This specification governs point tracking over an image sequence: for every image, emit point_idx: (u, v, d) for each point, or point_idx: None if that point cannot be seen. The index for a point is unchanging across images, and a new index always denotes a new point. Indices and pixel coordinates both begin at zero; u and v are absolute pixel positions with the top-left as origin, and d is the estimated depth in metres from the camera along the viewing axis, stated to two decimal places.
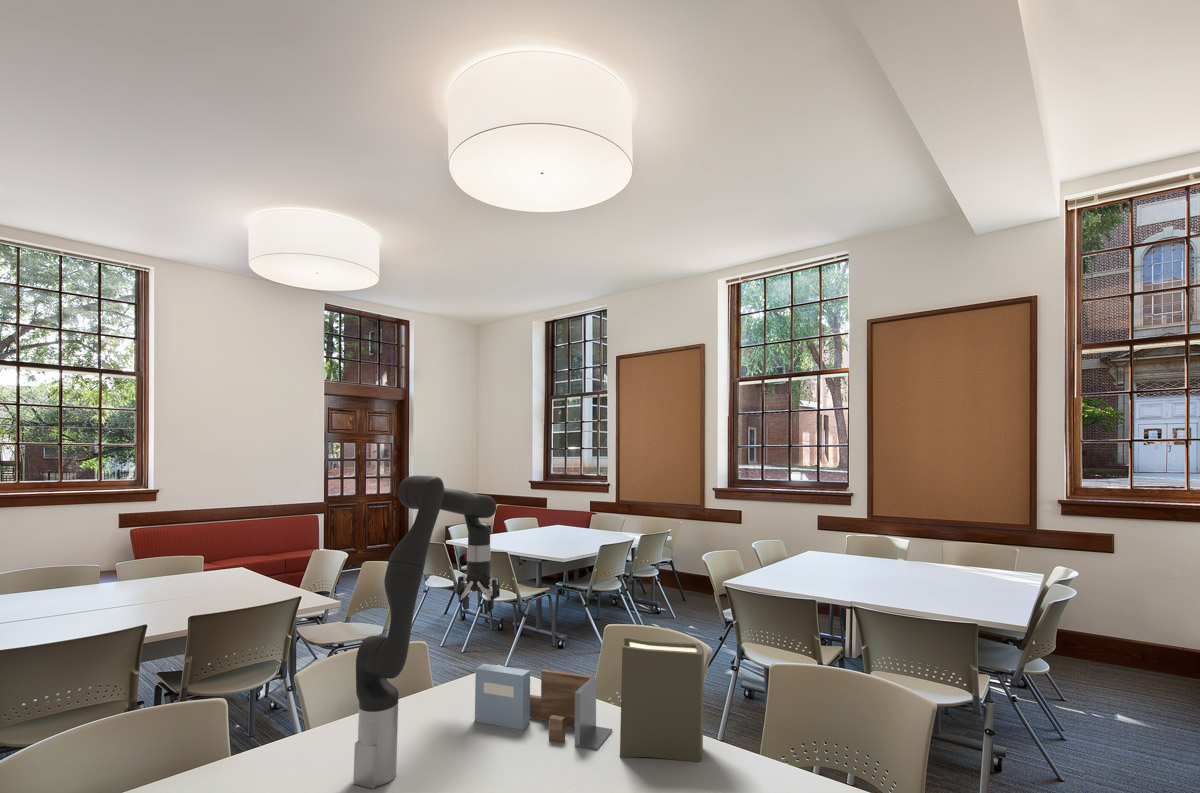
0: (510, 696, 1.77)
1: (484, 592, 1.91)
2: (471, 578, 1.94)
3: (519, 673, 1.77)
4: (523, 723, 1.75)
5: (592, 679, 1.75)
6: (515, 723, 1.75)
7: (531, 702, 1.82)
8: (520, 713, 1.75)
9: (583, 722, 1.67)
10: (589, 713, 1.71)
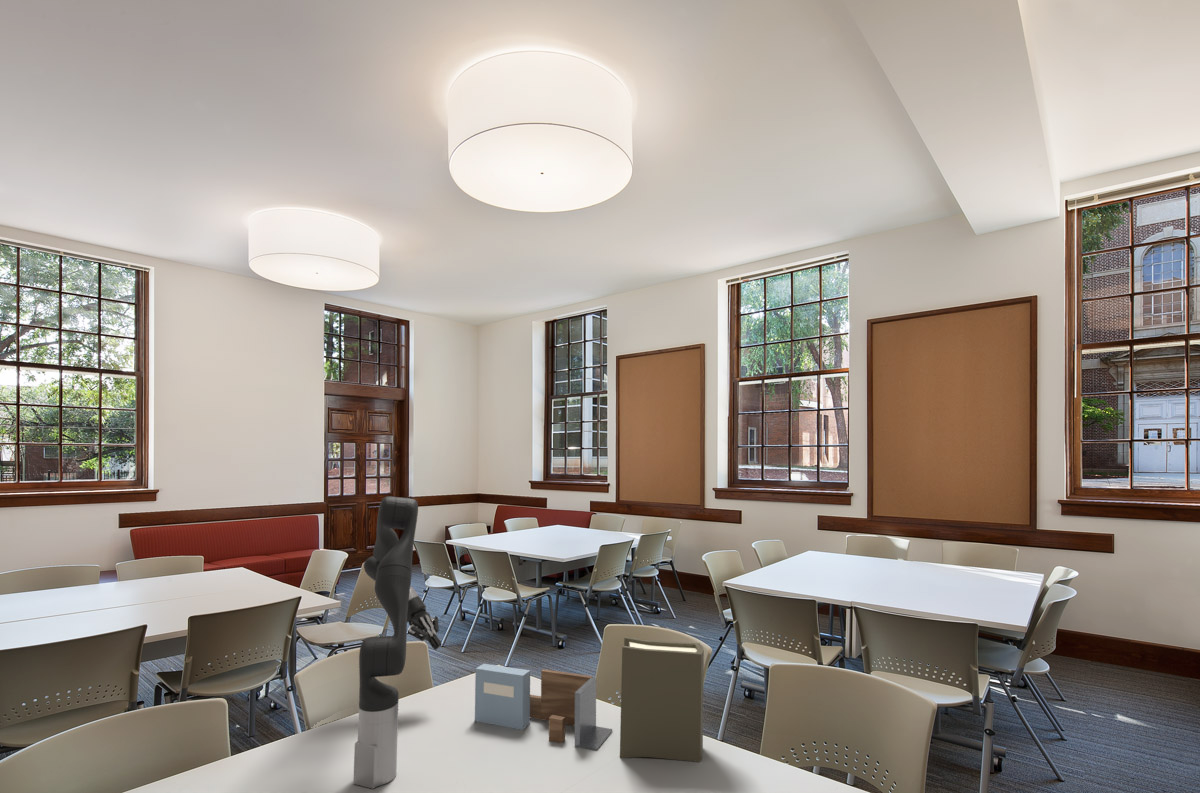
0: (510, 696, 1.77)
1: (431, 625, 1.92)
2: (417, 617, 1.91)
3: (519, 673, 1.77)
4: (523, 724, 1.75)
5: (592, 679, 1.75)
6: (515, 724, 1.75)
7: (531, 702, 1.82)
8: (520, 713, 1.75)
9: (583, 722, 1.67)
10: (589, 713, 1.71)
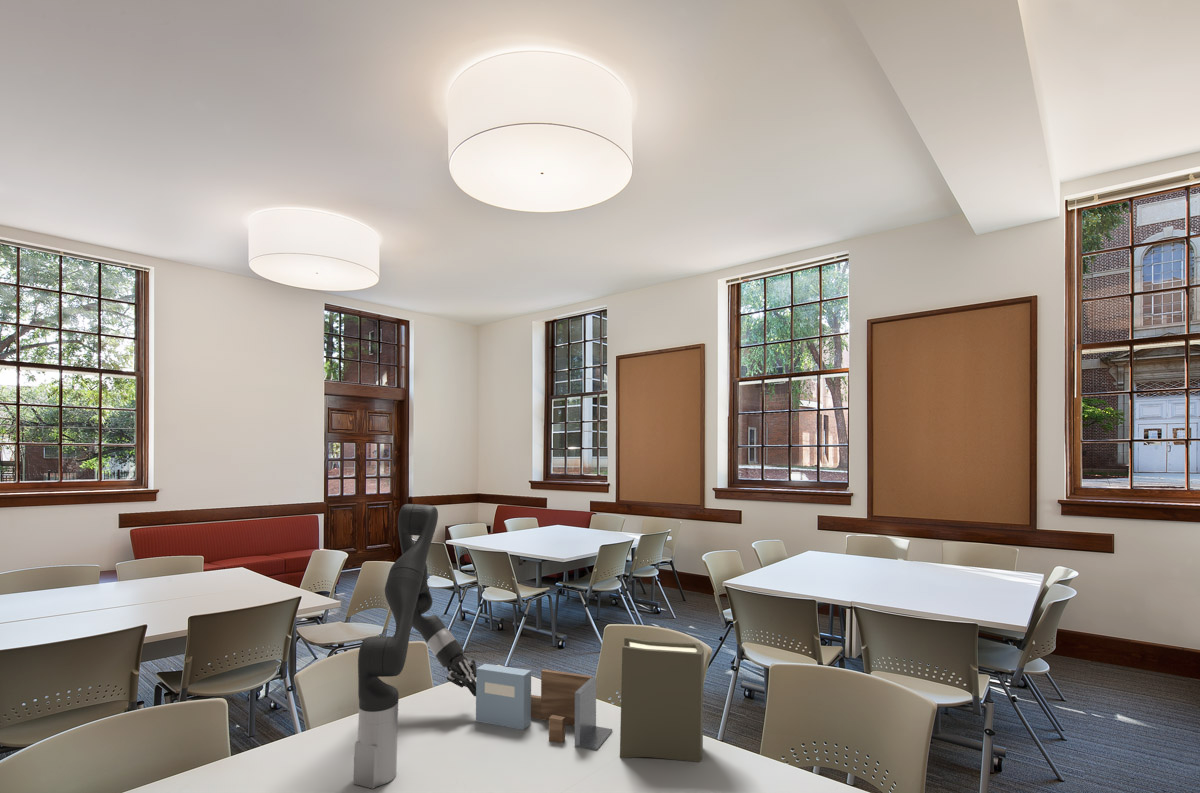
0: (511, 696, 1.76)
1: (470, 670, 1.86)
2: (455, 663, 1.85)
3: (520, 673, 1.77)
4: (524, 723, 1.75)
5: (592, 679, 1.75)
6: (516, 723, 1.75)
7: (531, 702, 1.82)
8: (521, 713, 1.75)
9: (583, 722, 1.67)
10: (589, 713, 1.71)
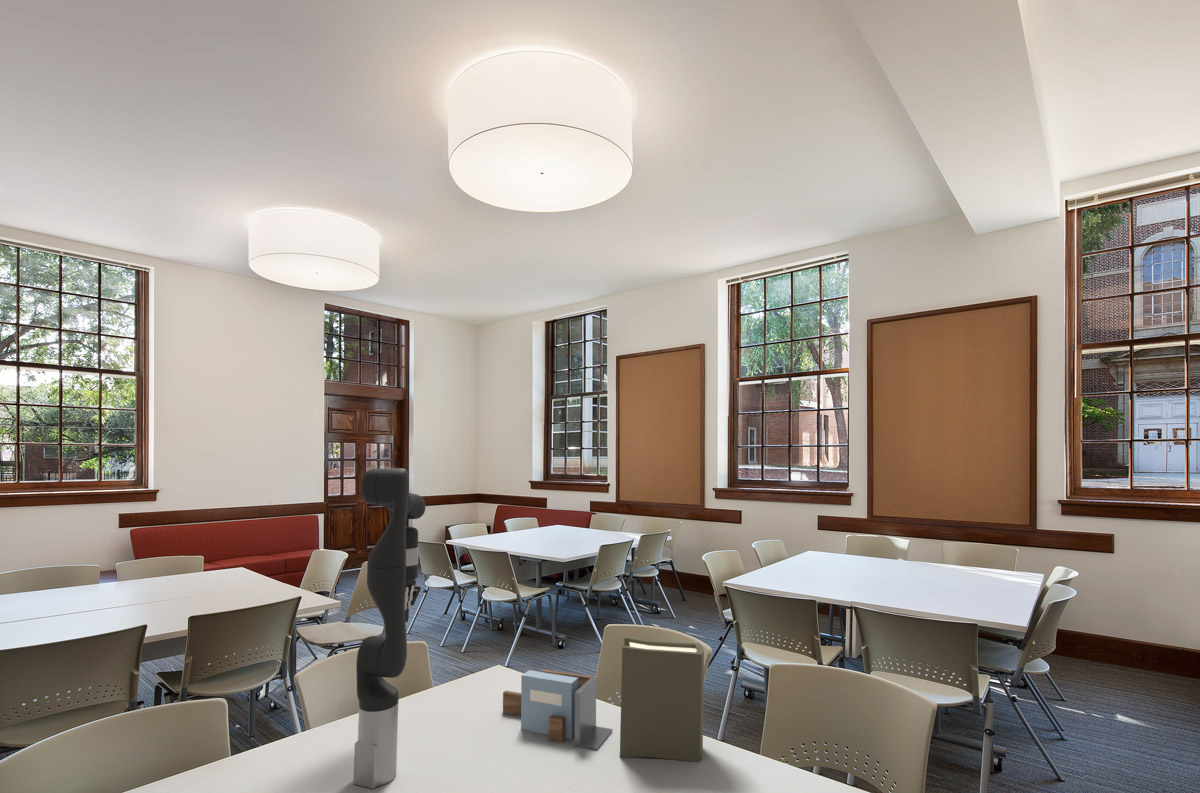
0: (558, 705, 1.71)
1: (411, 598, 1.81)
2: None
3: (567, 680, 1.72)
4: (572, 733, 1.69)
5: (592, 679, 1.75)
6: None
7: None
8: (569, 722, 1.69)
9: (583, 722, 1.67)
10: (589, 713, 1.71)
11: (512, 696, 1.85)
